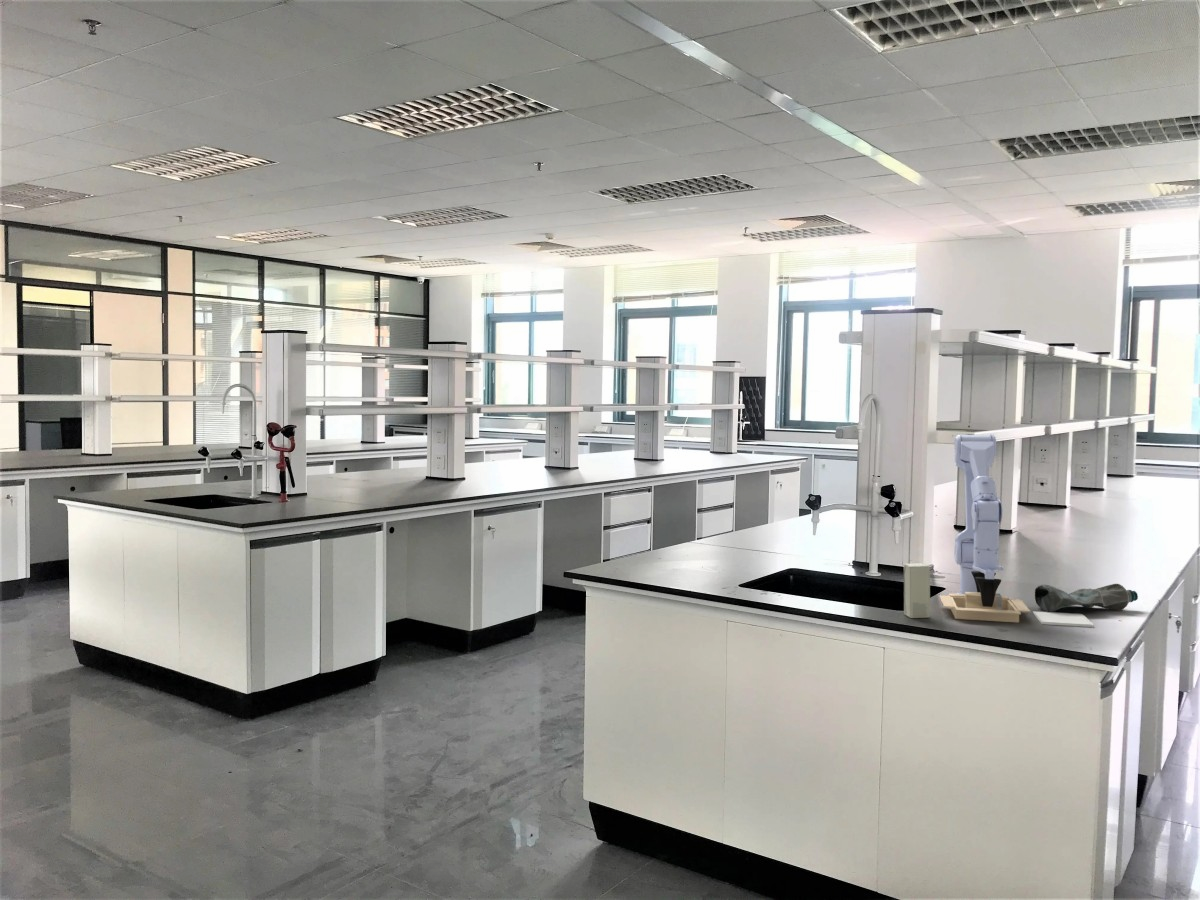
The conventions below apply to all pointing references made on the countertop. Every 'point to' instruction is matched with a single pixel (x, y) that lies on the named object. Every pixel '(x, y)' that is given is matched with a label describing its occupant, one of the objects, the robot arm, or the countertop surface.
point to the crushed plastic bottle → (1084, 597)
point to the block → (975, 601)
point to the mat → (1063, 619)
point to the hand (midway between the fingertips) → (985, 603)
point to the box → (917, 590)
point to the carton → (1007, 614)
